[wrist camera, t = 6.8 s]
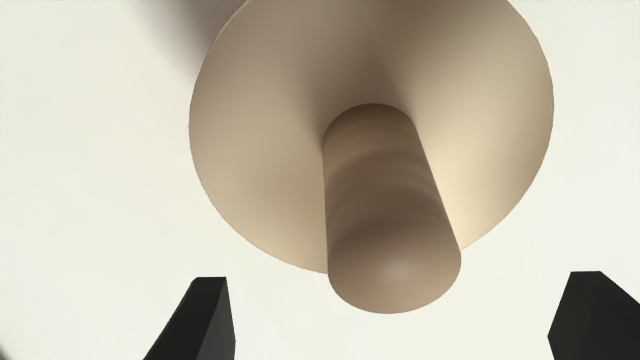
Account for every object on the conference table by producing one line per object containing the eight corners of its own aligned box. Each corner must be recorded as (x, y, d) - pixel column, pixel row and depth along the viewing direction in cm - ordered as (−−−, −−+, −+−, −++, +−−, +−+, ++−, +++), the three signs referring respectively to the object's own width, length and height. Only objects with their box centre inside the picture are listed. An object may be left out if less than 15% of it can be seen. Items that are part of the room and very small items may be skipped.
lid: (588, -51, 13) (756, 21, 8) (502, 259, 19) (570, 408, 14) (167, -53, 13) (82, 20, 8) (214, 261, 18) (181, 413, 14)
